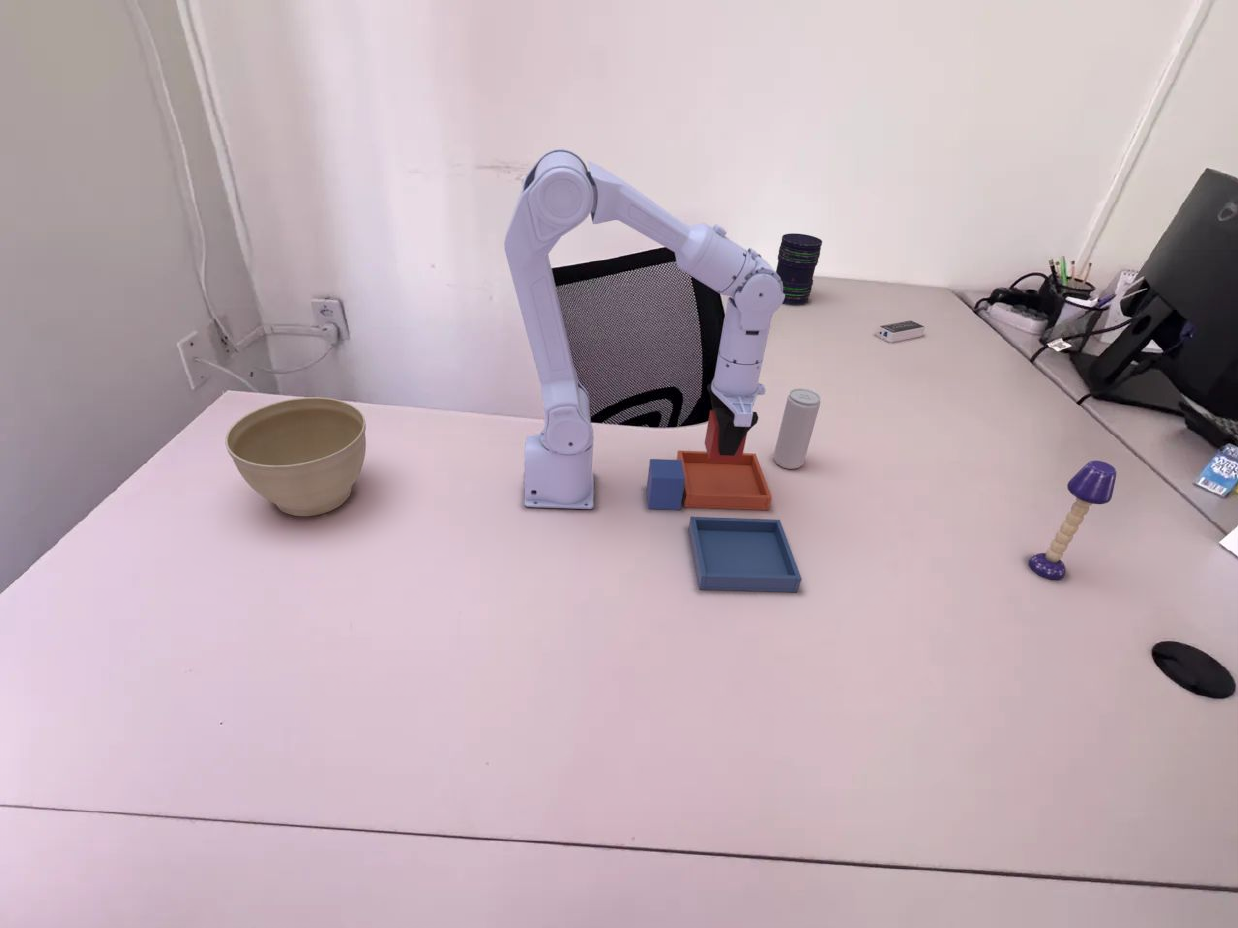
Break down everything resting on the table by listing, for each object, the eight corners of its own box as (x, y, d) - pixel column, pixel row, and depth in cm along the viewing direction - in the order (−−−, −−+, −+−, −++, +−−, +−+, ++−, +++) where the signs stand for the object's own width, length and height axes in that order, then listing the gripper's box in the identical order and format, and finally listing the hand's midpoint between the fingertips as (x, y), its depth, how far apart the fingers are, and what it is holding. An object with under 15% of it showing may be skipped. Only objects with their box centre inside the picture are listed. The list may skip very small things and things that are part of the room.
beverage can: (803, 472, 101) (822, 405, 95) (772, 467, 102) (788, 400, 95) (802, 456, 105) (820, 390, 99) (772, 451, 106) (788, 385, 99)
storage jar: (769, 302, 163) (782, 242, 154) (768, 289, 171) (780, 231, 163) (810, 307, 162) (824, 247, 154) (807, 294, 170) (821, 236, 162)
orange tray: (684, 507, 92) (686, 494, 91) (676, 462, 101) (677, 450, 100) (768, 510, 93) (772, 497, 92) (753, 465, 102) (755, 453, 101)
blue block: (648, 509, 91) (652, 477, 88) (646, 489, 95) (649, 458, 92) (680, 510, 92) (685, 478, 89) (676, 490, 95) (681, 459, 92)
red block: (708, 460, 90) (715, 426, 87) (704, 443, 93) (710, 409, 90) (741, 462, 90) (748, 428, 87) (735, 444, 94) (742, 411, 91)
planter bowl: (227, 493, 88) (203, 424, 82) (340, 449, 98) (327, 385, 92) (281, 553, 79) (259, 481, 73) (399, 498, 89) (389, 431, 83)
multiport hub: (922, 336, 152) (926, 327, 150) (889, 343, 147) (893, 333, 146) (907, 329, 155) (910, 319, 153) (875, 335, 150) (878, 326, 149)
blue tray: (699, 589, 79) (701, 576, 78) (688, 529, 88) (690, 516, 87) (797, 592, 80) (801, 578, 79) (776, 532, 89) (780, 519, 88)
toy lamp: (1048, 585, 84) (1112, 481, 75) (1016, 562, 87) (1073, 459, 78) (1070, 574, 86) (1135, 472, 77) (1038, 552, 89) (1096, 451, 80)
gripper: (784, 383, 77) (762, 475, 85) (759, 333, 89) (742, 418, 97) (726, 380, 77) (709, 473, 85) (709, 331, 89) (695, 416, 97)
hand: (723, 444), depth 91 cm, fingers closed on red block, 4 cm apart
